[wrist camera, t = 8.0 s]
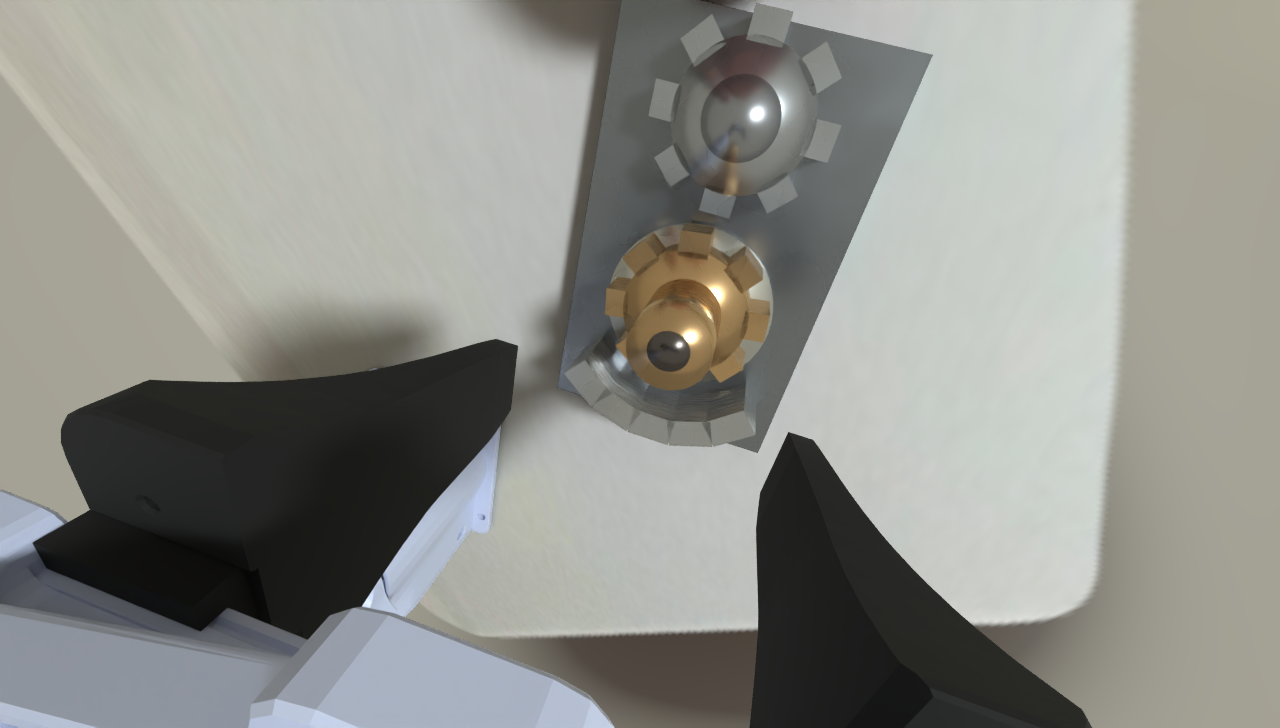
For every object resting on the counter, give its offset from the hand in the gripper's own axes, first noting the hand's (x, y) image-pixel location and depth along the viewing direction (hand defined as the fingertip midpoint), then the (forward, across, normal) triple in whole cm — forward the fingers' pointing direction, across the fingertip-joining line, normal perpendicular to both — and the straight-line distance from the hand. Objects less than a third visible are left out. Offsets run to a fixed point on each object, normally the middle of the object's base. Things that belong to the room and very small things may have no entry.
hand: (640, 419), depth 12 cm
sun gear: (+9, 0, -7) cm, 11 cm away
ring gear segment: (+9, 0, +4) cm, 10 cm away
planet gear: (+8, 0, 0) cm, 9 cm away
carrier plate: (+10, 0, -2) cm, 10 cm away
